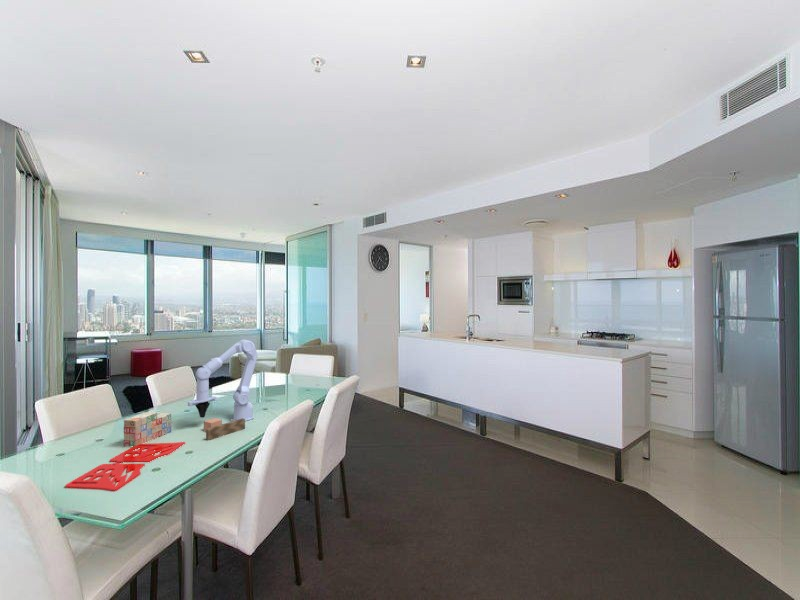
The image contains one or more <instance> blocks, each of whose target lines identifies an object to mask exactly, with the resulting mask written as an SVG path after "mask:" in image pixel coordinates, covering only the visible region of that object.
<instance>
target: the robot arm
mask: <svg viewBox="0 0 800 600" xmlns="http://www.w3.org/2000/svg"><path fill="white" fill-rule="evenodd" d="M241 353H244V355H245V356H246V361H245V364H244V367H243V371H242V375H241V377H240V382H239V385H238V386H237V388H236V391H234V393H233V395H232V398H233V400H234V404H233V418H232V419H230V422H232V421H235V420H239V419H242V418H243V419H245V422H248V421H250V420H253V419H255V417H254V406H253V404H252V403H251V402H250V384H251V381H252V378H253V374H254V371H255V367H256V364H257V360H258V352H257V349H256V345H255V344H254V343H253V341H252V340H247V339H245V338H244V339H243V338H242V339H241V340H239V341H237V342H236V343H234V344H233V345H232V346H231V347H230V348H229V349H227V350H226V351H225V352H224V353H222V354H221V355H220V356H219V357H214V358H212V357H211V358H210V361H208V362H207V363H205V364H203V365H202V367H199V368H197V369H196V372H195V374H194V375H195V376H196V395H195V396H196V398H195V399H193V400H191V401H187V406H188V407H192V406H195V407H196V409H197V410H198V415H199V417H200V418H201V419H202V418H205V417H206V412H207V410H208V408H209V406H210V404H211V402H213V401H217V396H215V395H214V396H210V395H209V394H210V391H209V390H210V386H209V385H210V382H209V378H210V376H211V374H213V373H215V372H216V371H217V370H218V369H220V368H221V367H222V366H223V363H224V362H225V361H227V360H228V359H229V358H231V357H232V356H233V355H235V354H241Z"/></svg>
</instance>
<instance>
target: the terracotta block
mask: <svg viewBox="0 0 800 600" xmlns="http://www.w3.org/2000/svg"><path fill="white" fill-rule="evenodd" d="M222 424H223V420H222V419H220V418H216V417H213V418H210V419H206V420H204V421H203V431H204V432H206V429H208V428H212V427H215V426H218V425H222Z"/></svg>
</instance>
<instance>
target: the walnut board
mask: <svg viewBox="0 0 800 600" xmlns="http://www.w3.org/2000/svg"><path fill="white" fill-rule="evenodd" d="M245 429H246V421H245V419H243V418H242V419H239V420H235V421H229V422H228V421H227V422H226V423H222V425H218V426H215V427H212V428H208V429H206V431H205V440H206V441H208V440H209V441H211V439H212V440H214V438H215V439H218V438H221V437H223V435H224V436H226V435H230V434H233V433H236V432H240V431H242V430H245Z"/></svg>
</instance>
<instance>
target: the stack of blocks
mask: <svg viewBox="0 0 800 600" xmlns="http://www.w3.org/2000/svg"><path fill="white" fill-rule="evenodd" d="M172 423H173V422H172V413H167V412H166V413H165V412H160V413H158V412H151V411H149V412H148V411H145V412H143V413H140V414H137V415H134V416H132V417H128V418H125V419H124V420H123V447H125V446H136V445H139V444H143V443H145V442H147V443H149V442H151V441H153V440H155V438H156V439H158V438H160V437H163V436H165V435H167V434H170V433H171V432H172ZM164 434H165V435H164ZM162 435H163V436H162ZM159 436H160V437H159ZM157 437H158V438H157ZM152 439H153V440H152ZM150 440H151V441H150ZM148 441H149V442H148ZM145 444H146V443H145Z"/></svg>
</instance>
